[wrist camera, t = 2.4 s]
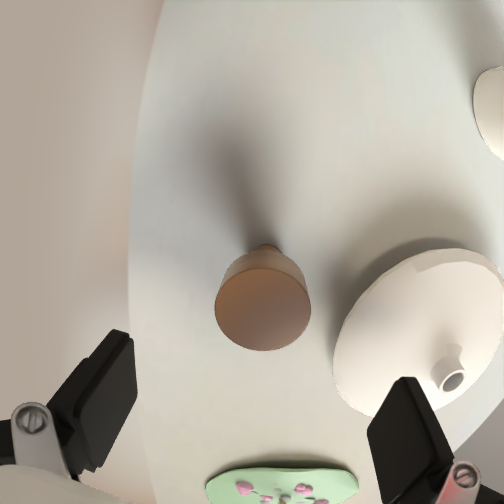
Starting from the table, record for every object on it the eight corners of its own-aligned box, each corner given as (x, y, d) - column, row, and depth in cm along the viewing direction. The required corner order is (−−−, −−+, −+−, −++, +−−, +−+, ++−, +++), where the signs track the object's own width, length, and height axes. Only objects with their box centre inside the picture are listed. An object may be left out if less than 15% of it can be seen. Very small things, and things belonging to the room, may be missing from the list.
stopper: (219, 253, 21) (194, 300, 14) (274, 215, 20) (275, 248, 13) (258, 302, 22) (251, 364, 15) (312, 269, 21) (328, 323, 14)
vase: (378, 203, 19) (426, 231, 12) (512, 269, 20) (560, 303, 13) (296, 381, 24) (300, 445, 18) (431, 402, 25) (454, 451, 18)
